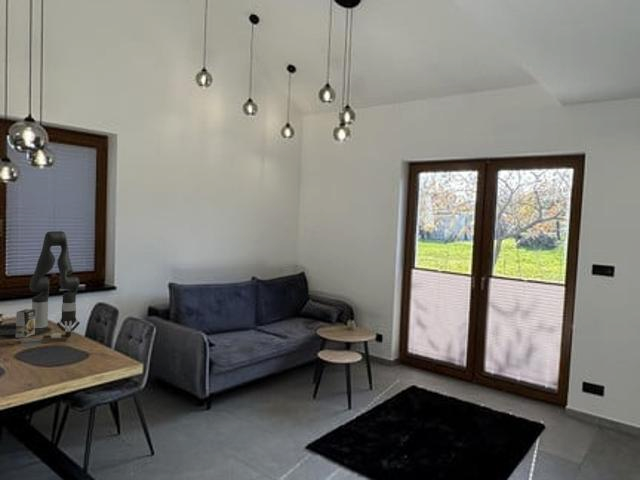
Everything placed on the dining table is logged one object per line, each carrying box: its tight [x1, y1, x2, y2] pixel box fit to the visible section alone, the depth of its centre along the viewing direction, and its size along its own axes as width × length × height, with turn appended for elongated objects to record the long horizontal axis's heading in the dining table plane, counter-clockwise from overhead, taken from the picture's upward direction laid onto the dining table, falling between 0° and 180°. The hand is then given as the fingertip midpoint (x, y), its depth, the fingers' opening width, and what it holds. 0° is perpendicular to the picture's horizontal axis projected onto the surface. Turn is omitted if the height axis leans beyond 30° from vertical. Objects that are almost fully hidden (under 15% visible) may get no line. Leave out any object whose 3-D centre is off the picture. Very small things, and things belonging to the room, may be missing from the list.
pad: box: [19, 338, 43, 346], centre depth 269 cm, size 12×11×1 cm
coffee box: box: [15, 308, 36, 339], centre depth 282 cm, size 9×6×16 cm
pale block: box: [50, 332, 62, 338], centre depth 275 cm, size 5×5×4 cm
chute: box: [41, 333, 69, 345], centre depth 274 cm, size 12×13×3 cm
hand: (67, 337), depth 277 cm, fingers closed
